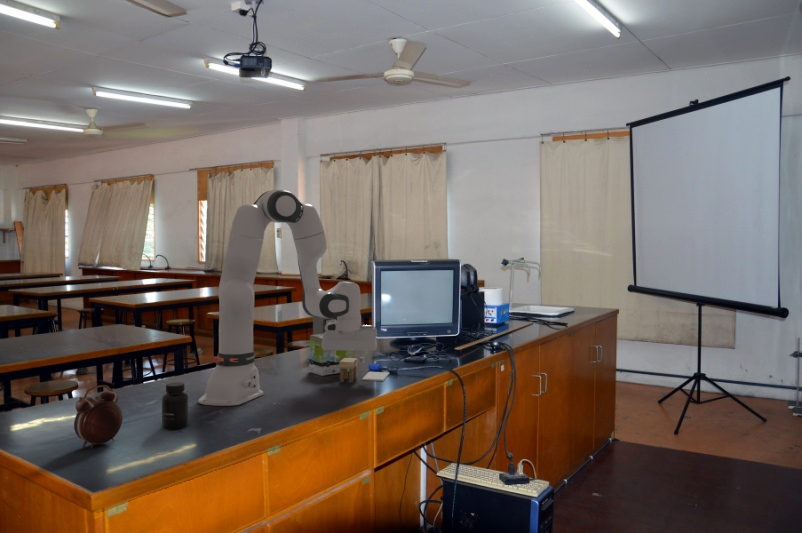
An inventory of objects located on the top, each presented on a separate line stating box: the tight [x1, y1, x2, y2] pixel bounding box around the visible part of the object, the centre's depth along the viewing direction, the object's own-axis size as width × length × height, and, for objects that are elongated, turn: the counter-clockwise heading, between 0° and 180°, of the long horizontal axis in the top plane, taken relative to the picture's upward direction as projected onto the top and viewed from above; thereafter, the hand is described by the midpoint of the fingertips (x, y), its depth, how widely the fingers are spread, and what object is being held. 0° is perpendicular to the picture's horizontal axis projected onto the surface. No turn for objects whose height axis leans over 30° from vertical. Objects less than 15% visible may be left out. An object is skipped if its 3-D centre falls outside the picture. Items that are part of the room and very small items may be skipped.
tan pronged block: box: [339, 357, 358, 383], centre depth 224 cm, size 7×5×8 cm
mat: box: [362, 371, 390, 382], centre depth 230 cm, size 12×8×1 cm, turn 171°
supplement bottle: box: [161, 381, 189, 431], centre depth 167 cm, size 7×7×12 cm
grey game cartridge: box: [312, 316, 337, 335], centre depth 277 cm, size 14×6×25 cm, turn 155°
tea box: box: [308, 334, 355, 377], centre depth 238 cm, size 15×10×15 cm
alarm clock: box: [73, 384, 123, 449], centre depth 152 cm, size 11×5×15 cm, turn 150°
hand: (349, 362), depth 224 cm, fingers open, 8 cm apart
